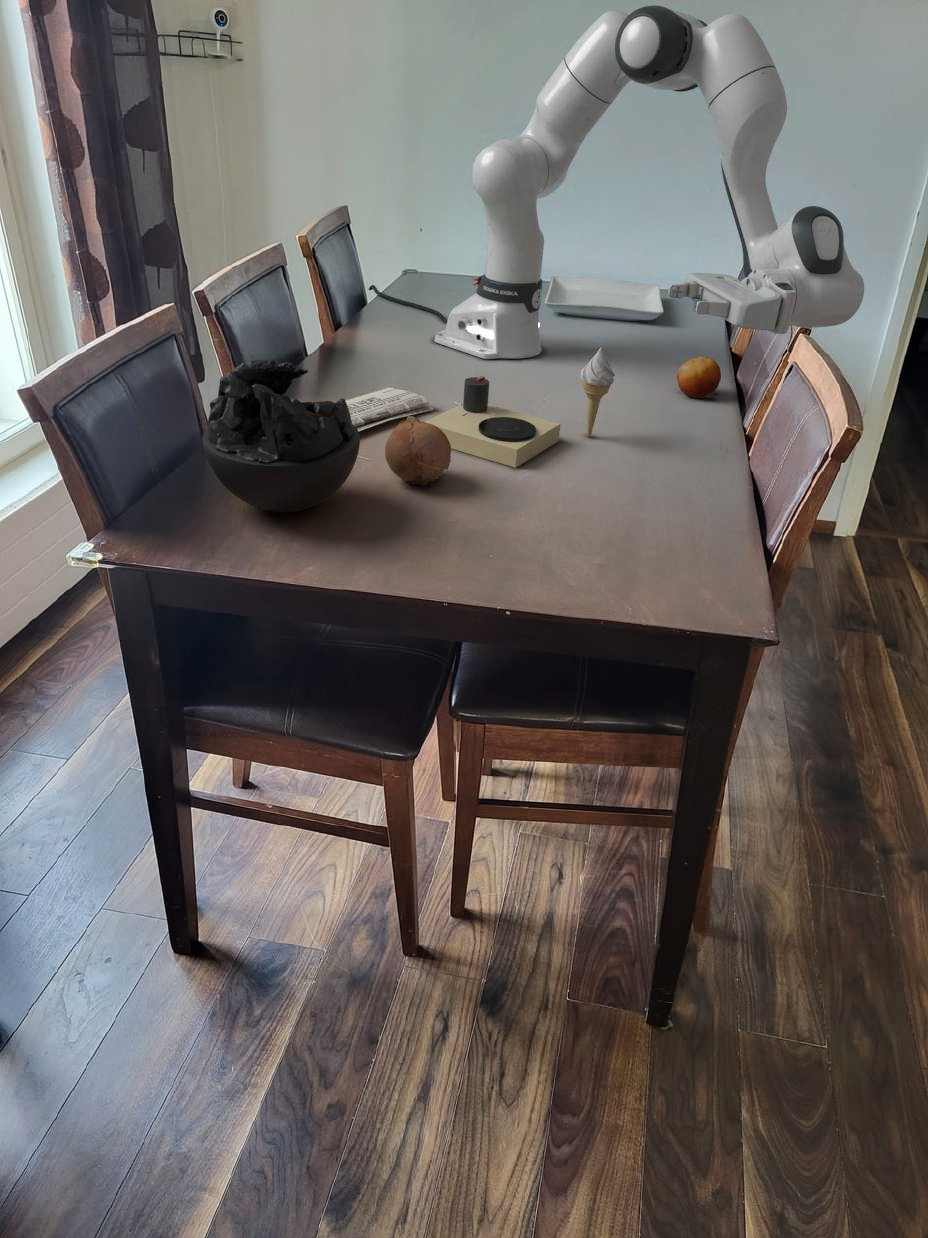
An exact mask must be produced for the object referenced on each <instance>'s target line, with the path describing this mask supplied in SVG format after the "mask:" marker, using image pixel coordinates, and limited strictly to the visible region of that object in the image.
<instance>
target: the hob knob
mask: <svg viewBox="0 0 928 1238" xmlns="http://www.w3.org/2000/svg"><path fill="white" fill-rule="evenodd" d="M463 386H464V387H463V403H462V404H463V409H464V410H466V411H468V412H473V413H481V412H485V411H487V409H488V404H489V403H488V402H489V395H490V393H489V392H490V380H488V379H487V378H485V376H483V375H481V376H479V377H478V376H472V377H471V376H470V377H466V378H465V379H464V385H463Z"/></svg>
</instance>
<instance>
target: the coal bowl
mask: <svg viewBox="0 0 928 1238" xmlns="http://www.w3.org/2000/svg"><path fill="white" fill-rule="evenodd" d="M308 373H309V370H308V369H305V368H302V367H298V366H295V365H294V364H293V363H291V362H288V361H286V362H282V363H276V361H275V359H272V358H271V359H262V360H261V359H254V360H251V362H250V364H249V365H247V364H246V363H245V362H244V361H243V362H241V363H240V364H239V365H237V366H236V367H234V368H233V370H232V371H228V372H227V373H225V374H224V375H222V376H221V377H220V379H219V385H218V391H217V397H216V398H213V400H211V401H210V402H209V408H210V411H209V415H208V419H207V424H206V425H207V426H206V429H205V430H204V431H203V434H202V439H201V440H202V446H203V451H204V454H205V457H206V459H207V462H208V464H209V466H210V468H211V469H212V471H213V473H214V475H215V476H216V478H217V479H218V480H219V482H220V483H221V484H222V485H223V486H224V487H225V488H226V489H227V490H228V491H229V492H230V493H231V494H232V495H234V496H235V497H236V498H237V499H239V500H241V501H242V502H244V503H246V504H248V505H250V506H252V507H255V508H257V509H260V510H264V511H269V512H275V513H294V512H300V511H304V510H308V509H310V508H313V507H315V506H318V505H319V504H321V503H323V502H325V501H326V500H328V499H329V498H331V497H332V496H333V495H334V494H335V493H337V492H338V491H339V489H341V487H342V486H344V484H345V482H346V481H347V480H348V479H349V476H350V475H351V474H352V471H353V469H354V467H355V465H356V462H357V458H358V455H359V450H360V445H361V435H360V431H358V430H357V428H356V427H355V426H354V425H353V424H352V421H351V416H350V412H349V409H348V406H347V403H346V401H345V400H346V399H345V398H344V397H342V398H339V399H338V400H337V401H336V402H334V401H331V400H323V401H322V400H321V401H300V400H298V399H297V398H290V396H288V395H285V394H286V393H287V392H288V390H289V389H290V388H291V386H292V384H293V382H294V380H295V379H300V378H301V377H302V376H304V375H306V374H308Z"/></svg>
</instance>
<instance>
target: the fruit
mask: <svg viewBox="0 0 928 1238" xmlns="http://www.w3.org/2000/svg"><path fill="white" fill-rule="evenodd" d="M721 380H722V371H721V367H720V364H718V362H717V361H716V360H715V359H714V358H713V357H708V356H699V357H693V358H692V359H689V360H688V361H686V362H685V363H682V365H681V366H680V367H679V368H678V369H677V371H676V381H677V386H678V388H679V389H680V391H681V392H682V393H683V394H684V395H685V396H687V397H689V398H692V399H702V398H704V399H705V398H707V399H708V398H709V399H712V396H713V395H714V393H715V392H716V390H717V389H718V387H719V385H720V382H721Z"/></svg>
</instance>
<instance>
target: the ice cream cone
mask: <svg viewBox="0 0 928 1238" xmlns="http://www.w3.org/2000/svg"><path fill="white" fill-rule="evenodd" d="M579 374H580V381H581V384H582V390H583V392H584V393H585V395H586V396H587V409H586V410H587V411H586V414H587V415H586V437H587V438H590V437H591V436H592V433H593V429H594V425H595V423H596V422H595V421H596V418H597V415H598V410H599V407H600V402H601V399H602V398H604V396H605V395H607V394H608V393H609V390H610V387H611V386H612V385H613V383H614V380H615V376H616V374H615V372H614V370H613V368H612V367H611V365H610V363H609V360H608V359H607V357H606V354H605V352H604V349H603V346H602V345H601V346H600V348H599V349H598V350H597V352H596V353H595V354H594V356H593V357H592V358H591V359H590V360H589V362H587V364H586V365H585V366H584V367H583V368H582V369H581V371H580V372H579Z"/></svg>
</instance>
